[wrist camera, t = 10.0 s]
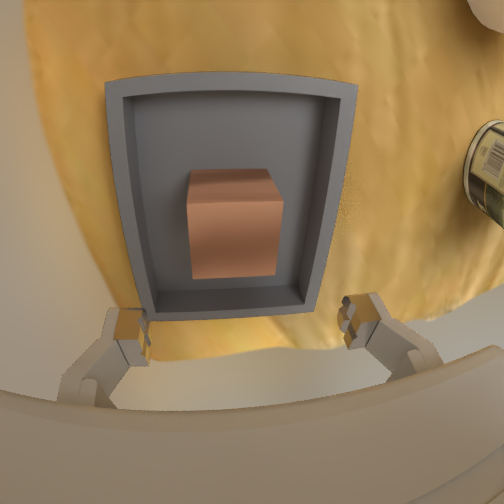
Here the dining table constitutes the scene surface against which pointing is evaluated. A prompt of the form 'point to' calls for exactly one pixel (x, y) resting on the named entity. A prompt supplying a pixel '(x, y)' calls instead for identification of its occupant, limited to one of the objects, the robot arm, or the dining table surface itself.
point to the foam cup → (489, 13)
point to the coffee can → (487, 171)
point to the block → (233, 223)
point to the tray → (227, 157)
